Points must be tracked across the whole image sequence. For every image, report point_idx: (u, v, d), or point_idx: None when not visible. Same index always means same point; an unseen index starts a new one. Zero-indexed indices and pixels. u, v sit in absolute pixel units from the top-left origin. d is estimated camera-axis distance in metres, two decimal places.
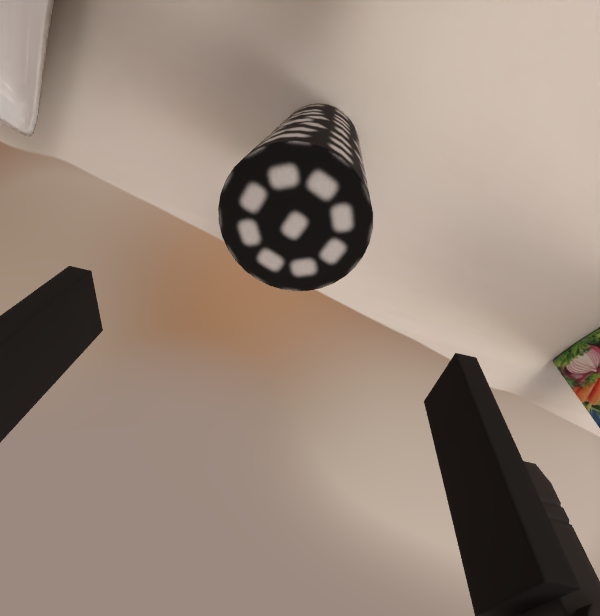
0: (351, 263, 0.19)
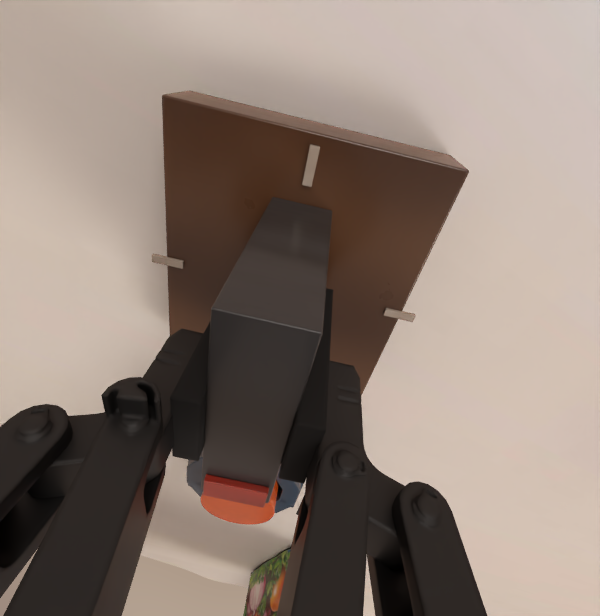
0: None
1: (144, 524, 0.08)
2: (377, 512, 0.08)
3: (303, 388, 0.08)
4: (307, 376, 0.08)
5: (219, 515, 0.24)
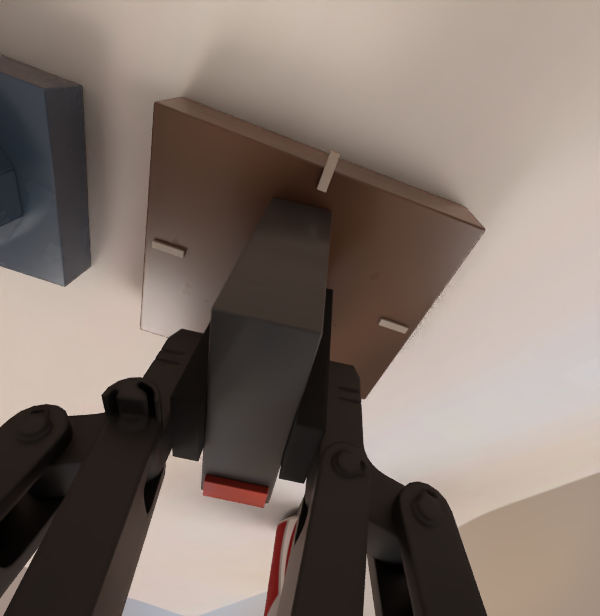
0: None
1: (144, 524, 0.08)
2: (377, 512, 0.08)
3: (303, 388, 0.08)
4: (307, 376, 0.08)
5: None
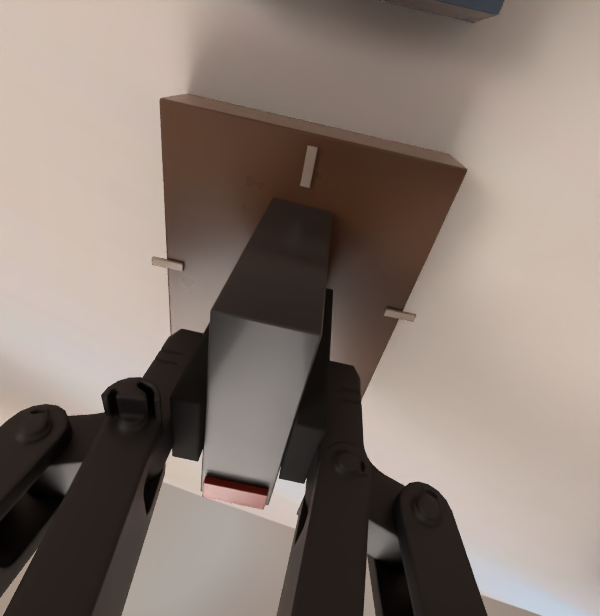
0: None
1: (144, 524, 0.08)
2: (378, 511, 0.08)
3: (303, 390, 0.08)
4: (307, 378, 0.08)
5: None
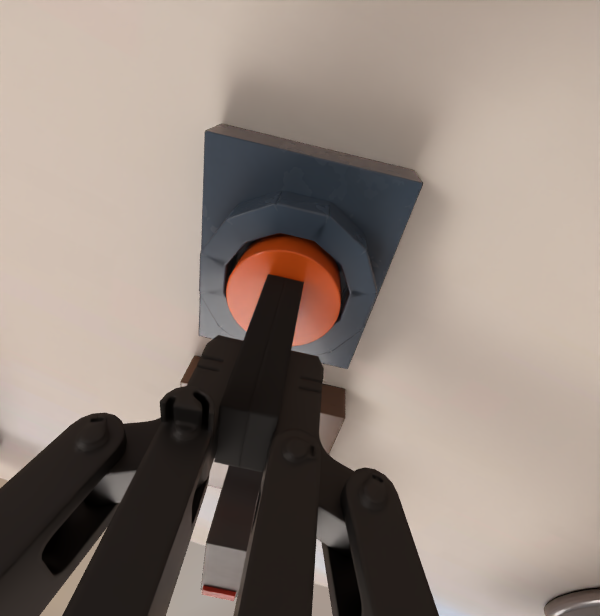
0: None
1: (188, 534, 0.08)
2: (326, 497, 0.08)
3: None
4: None
5: (316, 274, 0.14)
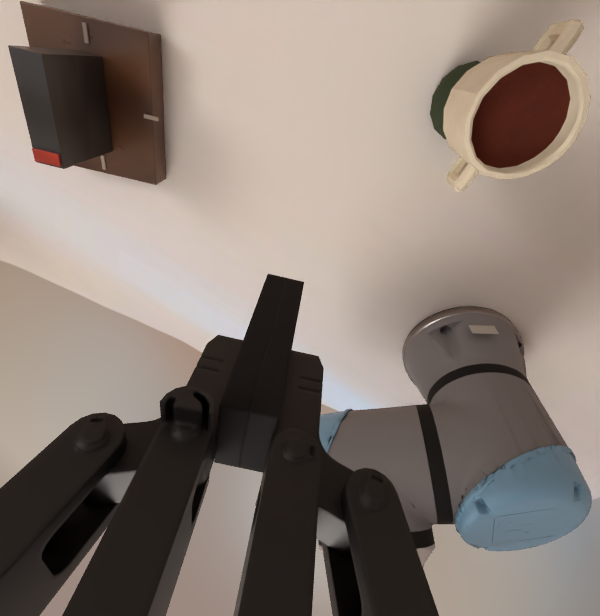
0: None
1: (189, 533, 0.08)
2: (326, 497, 0.08)
3: (47, 83, 0.25)
4: (45, 76, 0.25)
5: None
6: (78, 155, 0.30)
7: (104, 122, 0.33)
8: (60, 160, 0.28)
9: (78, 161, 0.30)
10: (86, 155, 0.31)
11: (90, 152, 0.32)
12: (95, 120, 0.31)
